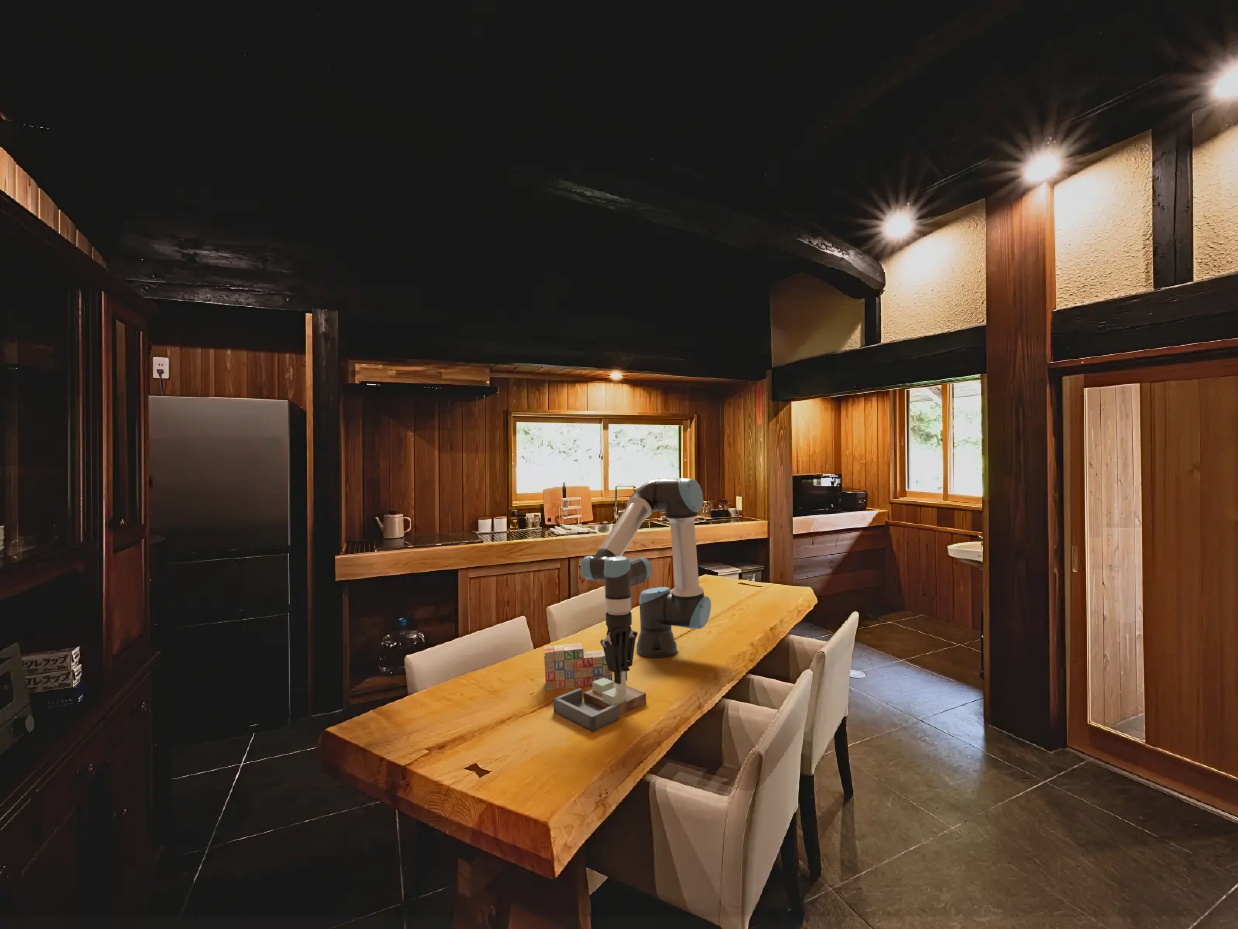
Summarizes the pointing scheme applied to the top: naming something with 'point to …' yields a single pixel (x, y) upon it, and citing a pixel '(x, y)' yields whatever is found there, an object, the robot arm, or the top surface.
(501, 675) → the top surface
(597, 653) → the stack of blocks
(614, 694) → the tile
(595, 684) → the tile
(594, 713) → the tray
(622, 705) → the board
